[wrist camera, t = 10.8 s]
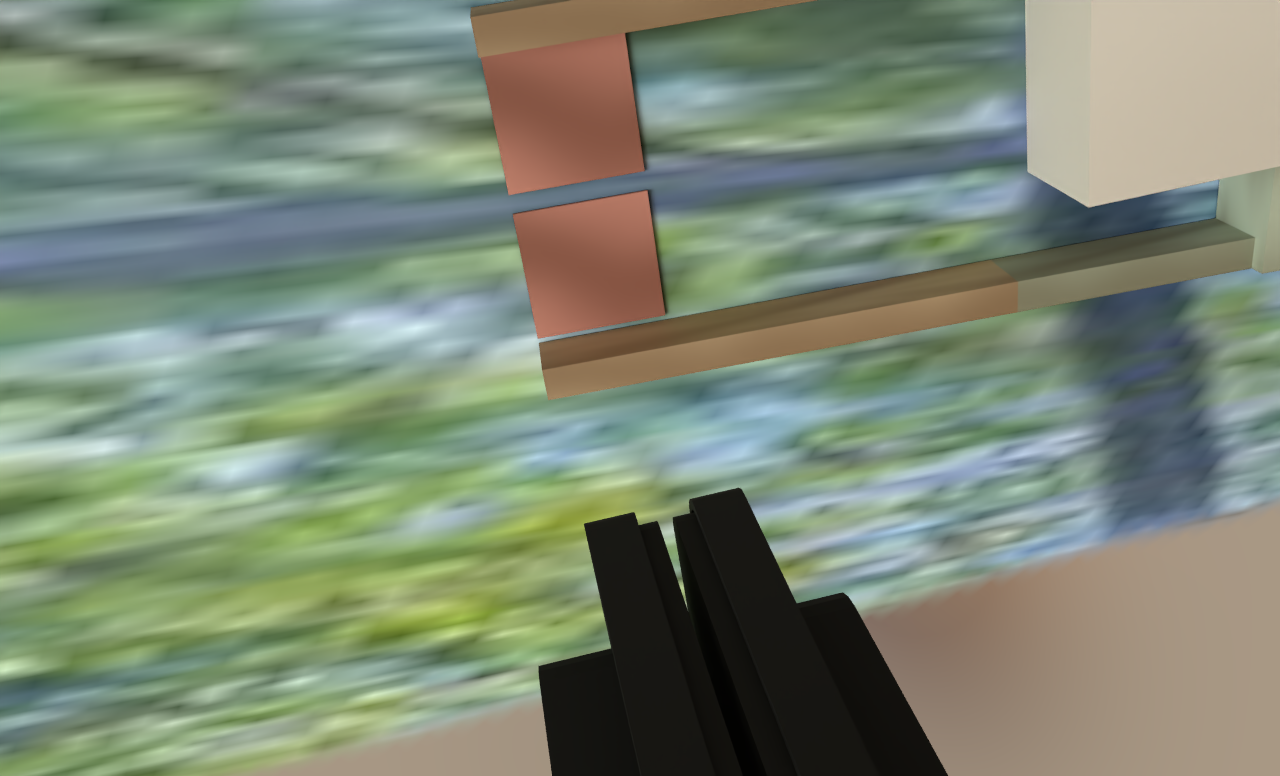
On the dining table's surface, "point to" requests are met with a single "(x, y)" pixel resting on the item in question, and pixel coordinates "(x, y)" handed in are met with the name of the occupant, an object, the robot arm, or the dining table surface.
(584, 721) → the robot arm
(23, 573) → the dining table surface
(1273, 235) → the finger lane
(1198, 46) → the cream block
